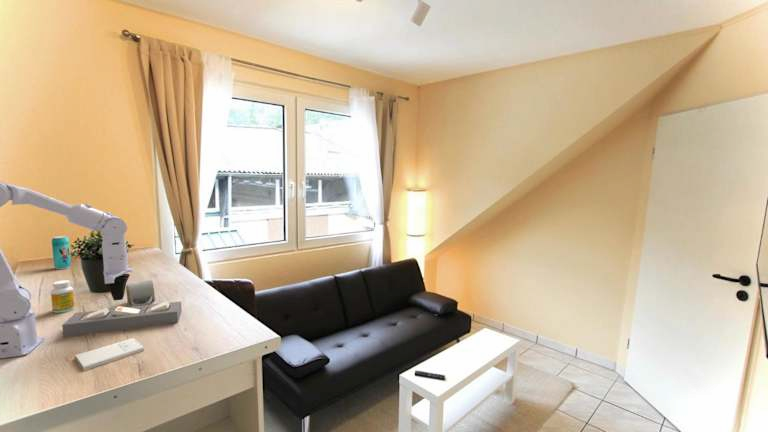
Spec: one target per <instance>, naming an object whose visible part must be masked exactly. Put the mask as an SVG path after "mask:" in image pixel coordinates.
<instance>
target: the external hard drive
mask: <svg viewBox="0 0 768 432" xmlns="http://www.w3.org/2000/svg"><path fill="white" fill-rule="evenodd" d="M143 351H145V347H144V346H143V345H142V344H141V343H140V342H139V341H138V340H137V339H136V338H134V337H132V338H128V339H126V340H123V341H121V340H120V341H118V342H116V343H112V344H109V345H105V346H102V347H99V348H95V349H92V350H91V349H90V350H88V351H85V352H81V353H79V354H75V355H74V360H75V361H76V362H77V364H78V366H80V368H81V369H82V370H83V371H88V370H89V369H93V368H97V367H98V366H99V367H100V366H102V365H104V364H107V363H110V362H113V361H116V360H119V359H122V358H125V357H129V356H131V355H134V354H137V353H139V352H143Z"/></svg>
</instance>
